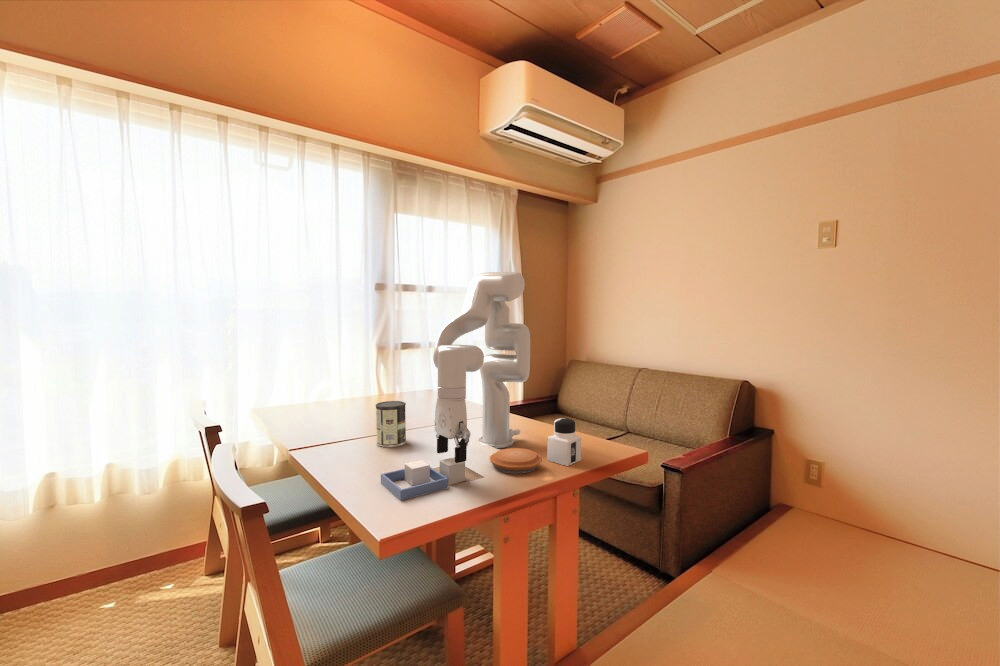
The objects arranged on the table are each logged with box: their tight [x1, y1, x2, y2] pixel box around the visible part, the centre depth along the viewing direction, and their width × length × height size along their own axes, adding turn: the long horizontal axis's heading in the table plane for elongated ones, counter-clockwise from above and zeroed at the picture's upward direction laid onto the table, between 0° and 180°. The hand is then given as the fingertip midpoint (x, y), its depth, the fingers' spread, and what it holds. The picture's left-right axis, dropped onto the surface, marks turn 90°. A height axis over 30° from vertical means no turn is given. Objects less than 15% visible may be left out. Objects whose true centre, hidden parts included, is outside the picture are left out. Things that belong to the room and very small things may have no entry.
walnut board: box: [432, 465, 484, 487], centre depth 120 cm, size 11×14×1 cm
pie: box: [489, 447, 543, 474], centre depth 126 cm, size 16×16×5 cm
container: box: [546, 417, 582, 467], centre depth 133 cm, size 8×8×13 cm
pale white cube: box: [439, 456, 466, 485], centre depth 115 cm, size 5×5×5 cm
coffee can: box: [375, 400, 407, 448], centre depth 151 cm, size 10×10×14 cm
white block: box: [404, 459, 431, 487], centre depth 115 cm, size 5×5×5 cm
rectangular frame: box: [380, 466, 449, 501], centre depth 111 cm, size 13×13×4 cm
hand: (451, 457), depth 114 cm, fingers open, 9 cm apart
